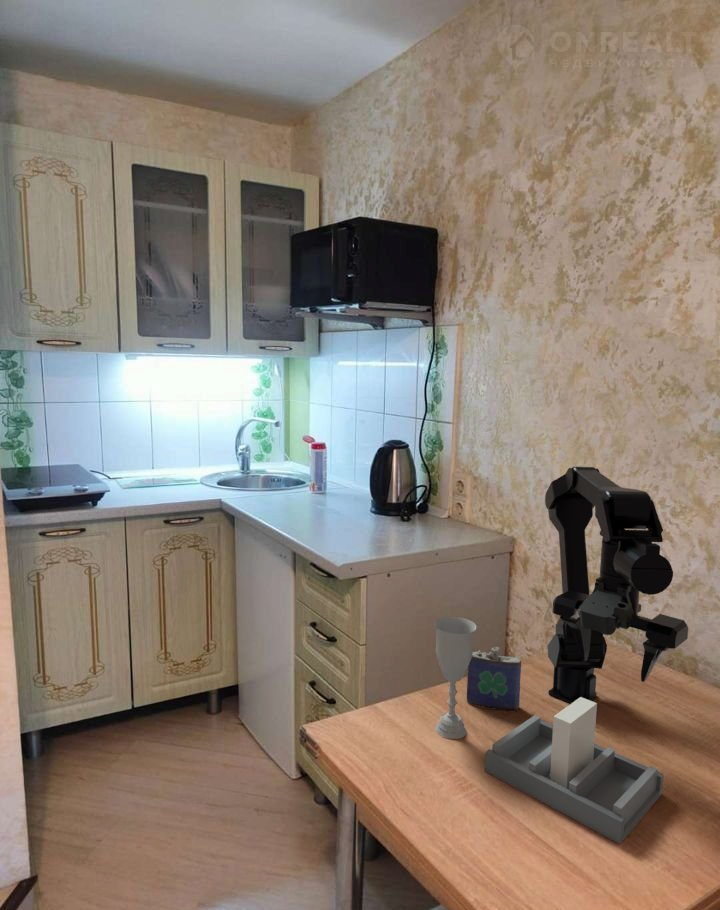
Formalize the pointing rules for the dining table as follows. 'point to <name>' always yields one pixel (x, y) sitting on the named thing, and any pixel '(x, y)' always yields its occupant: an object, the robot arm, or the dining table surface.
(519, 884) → the dining table surface
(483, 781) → the dining table surface
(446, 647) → the chalice
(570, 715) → the white rectangular block
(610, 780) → the rack
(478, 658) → the flask
